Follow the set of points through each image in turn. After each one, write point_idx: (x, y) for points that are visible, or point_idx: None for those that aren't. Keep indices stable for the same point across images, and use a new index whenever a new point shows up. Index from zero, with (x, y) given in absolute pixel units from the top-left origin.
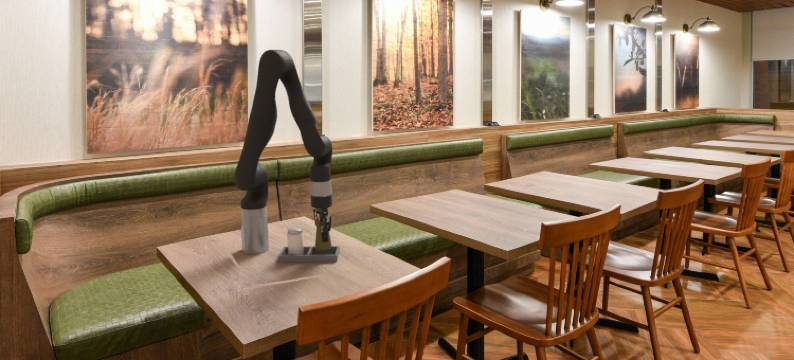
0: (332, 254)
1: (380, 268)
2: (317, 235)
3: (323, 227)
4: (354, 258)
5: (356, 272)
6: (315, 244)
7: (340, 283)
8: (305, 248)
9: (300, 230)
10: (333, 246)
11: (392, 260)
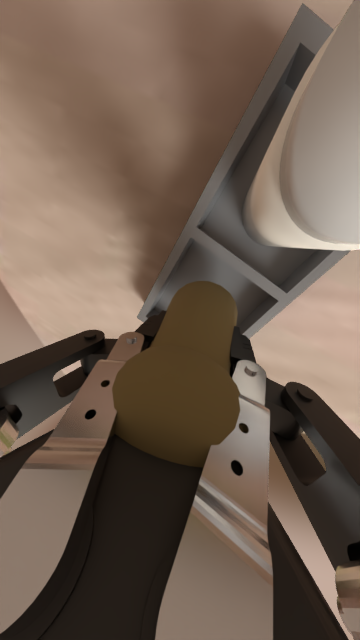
0: None
1: None
2: (183, 311)
3: (62, 348)
4: None
5: (79, 309)
6: (207, 288)
7: (24, 243)
8: (304, 273)
9: (301, 180)
10: None
11: None
